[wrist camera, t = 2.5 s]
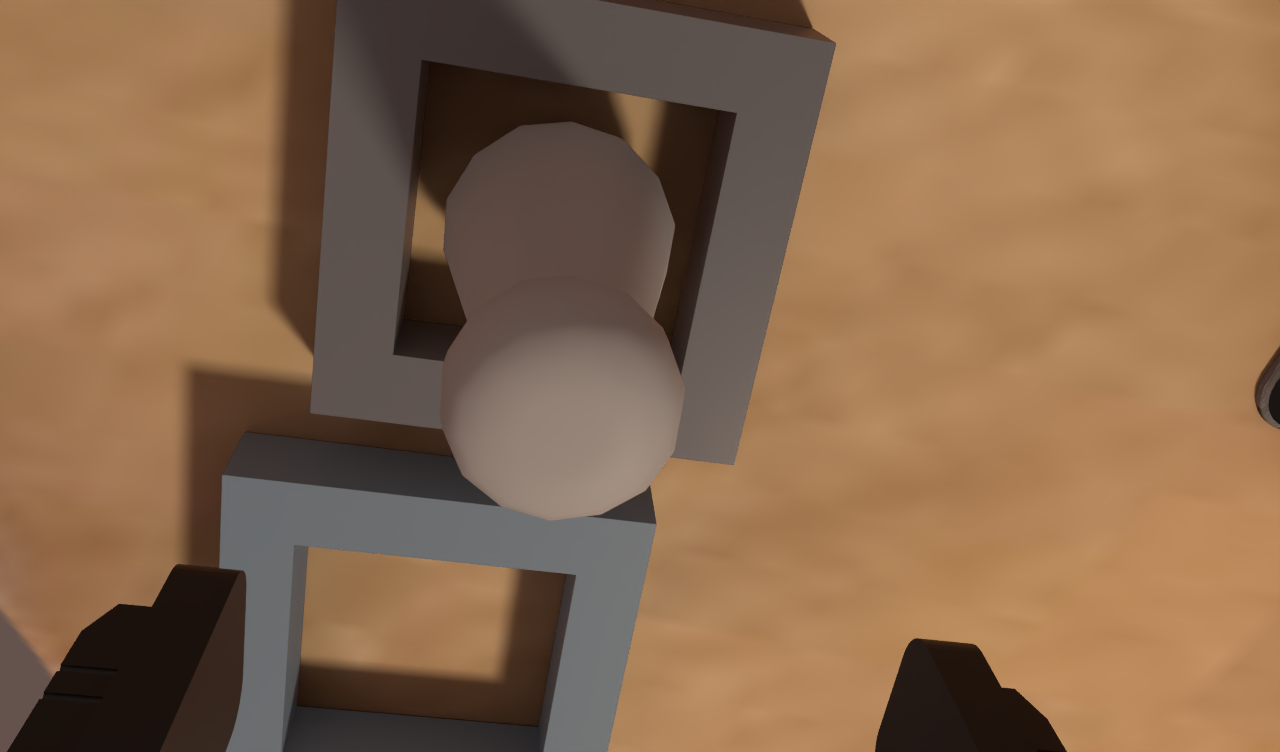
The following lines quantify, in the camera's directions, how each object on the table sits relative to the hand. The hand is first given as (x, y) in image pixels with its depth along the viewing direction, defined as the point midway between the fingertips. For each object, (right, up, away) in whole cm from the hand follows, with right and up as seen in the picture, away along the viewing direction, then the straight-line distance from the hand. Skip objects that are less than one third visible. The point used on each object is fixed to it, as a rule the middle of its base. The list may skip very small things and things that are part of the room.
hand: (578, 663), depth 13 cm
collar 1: (-1, +8, +17) cm, 19 cm away
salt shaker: (-1, +8, +17) cm, 19 cm away
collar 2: (-6, -4, +22) cm, 23 cm away
